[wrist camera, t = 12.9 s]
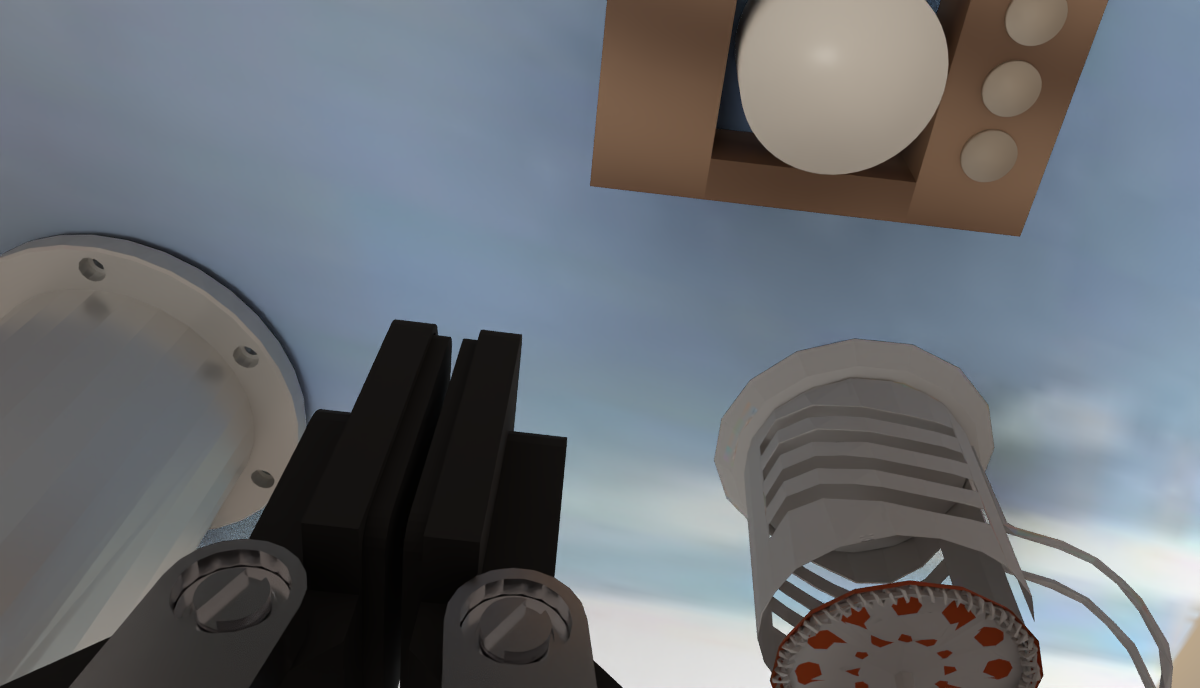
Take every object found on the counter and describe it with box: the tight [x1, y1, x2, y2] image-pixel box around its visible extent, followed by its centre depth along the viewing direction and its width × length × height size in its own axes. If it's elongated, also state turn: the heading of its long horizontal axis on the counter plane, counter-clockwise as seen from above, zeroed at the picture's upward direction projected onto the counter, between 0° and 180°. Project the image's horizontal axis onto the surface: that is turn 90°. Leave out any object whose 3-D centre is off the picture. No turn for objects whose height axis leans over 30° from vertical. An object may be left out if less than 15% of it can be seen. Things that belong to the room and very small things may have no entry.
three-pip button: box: [734, 0, 948, 175], centre depth 24 cm, size 5×5×3 cm
